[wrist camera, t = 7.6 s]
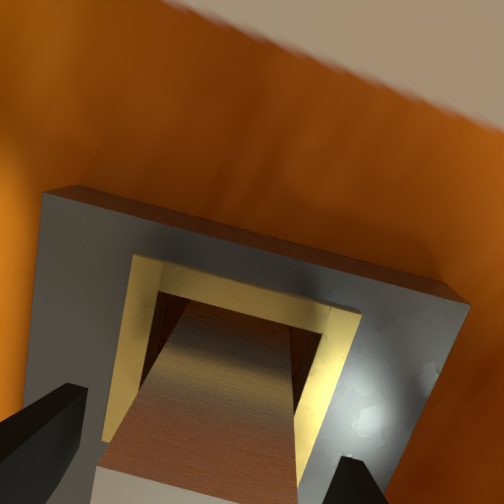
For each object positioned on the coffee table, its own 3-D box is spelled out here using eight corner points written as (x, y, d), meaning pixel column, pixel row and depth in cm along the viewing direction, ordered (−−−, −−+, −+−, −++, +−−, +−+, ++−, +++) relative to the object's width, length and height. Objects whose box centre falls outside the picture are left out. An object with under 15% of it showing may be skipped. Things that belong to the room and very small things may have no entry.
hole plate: (445, 283, 14) (473, 307, 12) (293, 633, 20) (295, 690, 18) (75, 184, 14) (39, 192, 12) (30, 564, 20) (1, 613, 18)
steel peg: (289, 325, 15) (298, 519, 7) (263, 408, 16) (247, 649, 9) (190, 299, 15) (96, 465, 7) (171, 384, 16) (72, 604, 8)
